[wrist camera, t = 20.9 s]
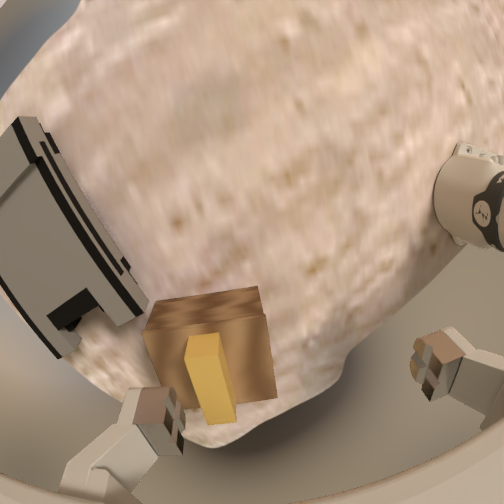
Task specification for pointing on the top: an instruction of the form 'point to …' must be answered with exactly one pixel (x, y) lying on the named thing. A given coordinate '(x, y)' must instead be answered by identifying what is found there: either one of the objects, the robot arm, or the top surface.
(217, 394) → the yellow block
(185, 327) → the box lid
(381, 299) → the top surface
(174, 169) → the top surface
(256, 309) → the wooden box
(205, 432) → the top surface
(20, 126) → the game console
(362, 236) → the top surface
